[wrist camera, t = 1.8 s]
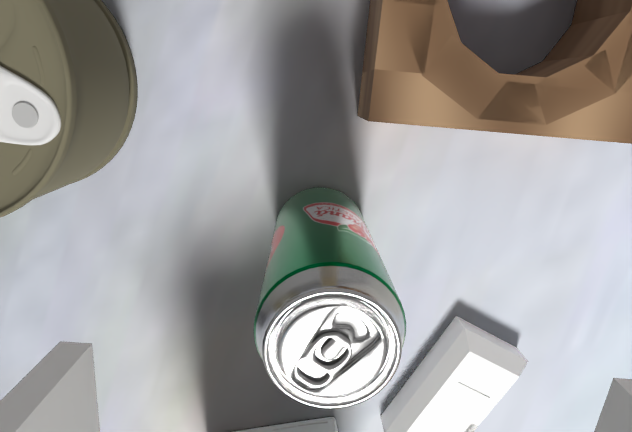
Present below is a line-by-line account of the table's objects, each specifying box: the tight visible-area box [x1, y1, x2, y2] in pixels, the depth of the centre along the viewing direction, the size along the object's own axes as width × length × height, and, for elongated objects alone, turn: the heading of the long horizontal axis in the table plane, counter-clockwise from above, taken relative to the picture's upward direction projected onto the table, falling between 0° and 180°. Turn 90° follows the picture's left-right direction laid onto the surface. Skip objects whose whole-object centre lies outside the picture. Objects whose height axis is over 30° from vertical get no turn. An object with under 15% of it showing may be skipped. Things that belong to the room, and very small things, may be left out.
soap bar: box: [381, 316, 528, 432], centre depth 27 cm, size 5×9×3 cm, turn 150°
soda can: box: [254, 187, 406, 409], centre depth 18 cm, size 5×5×12 cm
